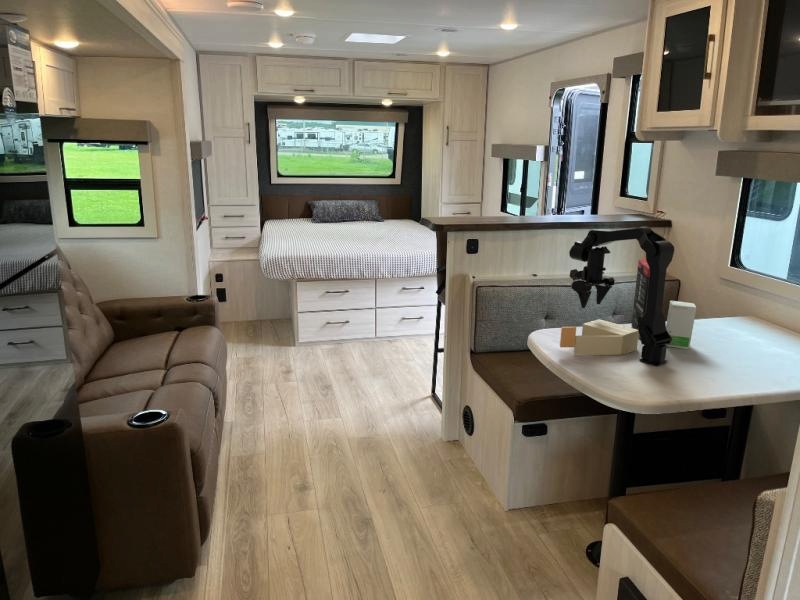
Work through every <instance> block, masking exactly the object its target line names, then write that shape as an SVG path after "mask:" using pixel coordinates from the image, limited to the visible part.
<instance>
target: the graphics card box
mask: <svg viewBox="0 0 800 600" xmlns="http://www.w3.org/2000/svg"><path fill="white" fill-rule="evenodd" d="M636 271H637V272H636V278H635V279H636V280H635V289H634V300H633V309H632V317H631V328H633V329H637V330H638V328H637V325H638V316H641V315H644V313H645V312H646V303H647V293H648V283H649V272H650V268H649V265H648V263H647V261H646V259H638V263H637V270H636ZM666 277H667V276H666ZM666 277H665V279H666ZM638 339H639V340H640V341H641V339H640V334H639V337H638ZM654 339H656V338H654Z"/></svg>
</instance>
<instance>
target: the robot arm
mask: <svg viewBox="0 0 800 600" xmlns="http://www.w3.org/2000/svg"><path fill="white" fill-rule="evenodd" d="M627 240H628V241H629V240H630V241H631V240H636V241H638V245H639V247H640V248H641V250H642V251H643V252H644V253H645V260H646V261H647V263H648V265H649V268H650V272H649V283H648V293H647V303H646V312H645V313H644V315H641V316H638V325H637V328H638V333H639V334H640V338H639V340H640V339H641V340H640V343H641V345H642V348H641V354H640V357H641V358H639V362H642V363H646V364H650V365H652V366H655V367H659V366H662V365H664V364H666V363H668V360H666V356H667V347H668V346H667V345H666V344H670V343H671V341H672V338H671V336H670V334H669V333H668V331H667V330H666V324H667V319H666V318H665V316H664V314H663V306H664V295H665V286H666V278H665V277H667V269H668V267H669V266H670V264H671V263H672V261H673V257H674V254H675V246H674V245H673V243H672V242H671V241H669V240H667V239H666V238H664V236H662V235H660V234H659V233H657V232H656V231H654V230H653V229H652V228H650V227H649V226H638V227H635V228H626V229H619V230H618V229H616V230H615V229H613V230H612V229H608V228H607V229H606V228H600V229H599V228H598V229H591V230H589V231H588V233H587V235H586V236H585V238H584V239H583V240H582V241H579V240H578V241H574V244H573V245H572V246H571V247H570V250H569V252H568V253H569V258H571V259H572V260H575V261H580V262H584V263H586V265H585V266H583V269H582V270H578V269H577V268H574V269H570V272H569V278H570V279H571V280H572V282H571V287H570V289H571V290H573V291H574V292H576V293H577V295H578V298H579V302H580V305H581V309H585V308H586V307H587V305H588V302H589V299H590V296H591V294H592V290H593V289H592V287H595V289H596V298H595V299H596V300H595V301H596V305H601V303H602V302H603V300H604V298H606V296H607V294H608V293H609V291H610V290H611V288H613V286H615V281H616V280H615V278H614V277H612V276H608V275H603V274H604V271H606V270H607V269H606V267H605V266H604V264H605V258H606V257H605V256H606V254H607V255H608V254H611V251H610V250H609V249H608V247H607V245H609V244H612V243H614V242H618V241H620V242H621V241H627ZM600 246H601V247H600ZM654 338H656V339H654Z"/></svg>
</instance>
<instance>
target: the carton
mask: <svg viewBox="0 0 800 600" xmlns="http://www.w3.org/2000/svg"><path fill="white" fill-rule="evenodd" d="M581 329H582V330H581V336H623V339H622V348H621V355H620V356H622V355H624V354H628V353H631V352H633V351H635V350H638V345H639V344H638V343H639V333H638V330H637V329H633V328H632V327H629V326H625V325H621V324H618V323H614V322H611V321H607V320H603V319H595V320H591V321H588V322H585V323H582V328H581Z"/></svg>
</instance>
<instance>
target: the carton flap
mask: <svg viewBox="0 0 800 600" xmlns="http://www.w3.org/2000/svg"><path fill="white" fill-rule="evenodd" d="M560 329H561V330H560V338H559V339H560V340H559V347H560V348H574V349H573V355H575V356H580V355H581V356H583V355H584V356H586V355H587V356H593V355H595V356H603V355H604V356H609V355H610V356H611V355H612V356H614V355H615V356H622V355H621V348H622V339H623V336H582V335H577V326H561V328H560Z"/></svg>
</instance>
